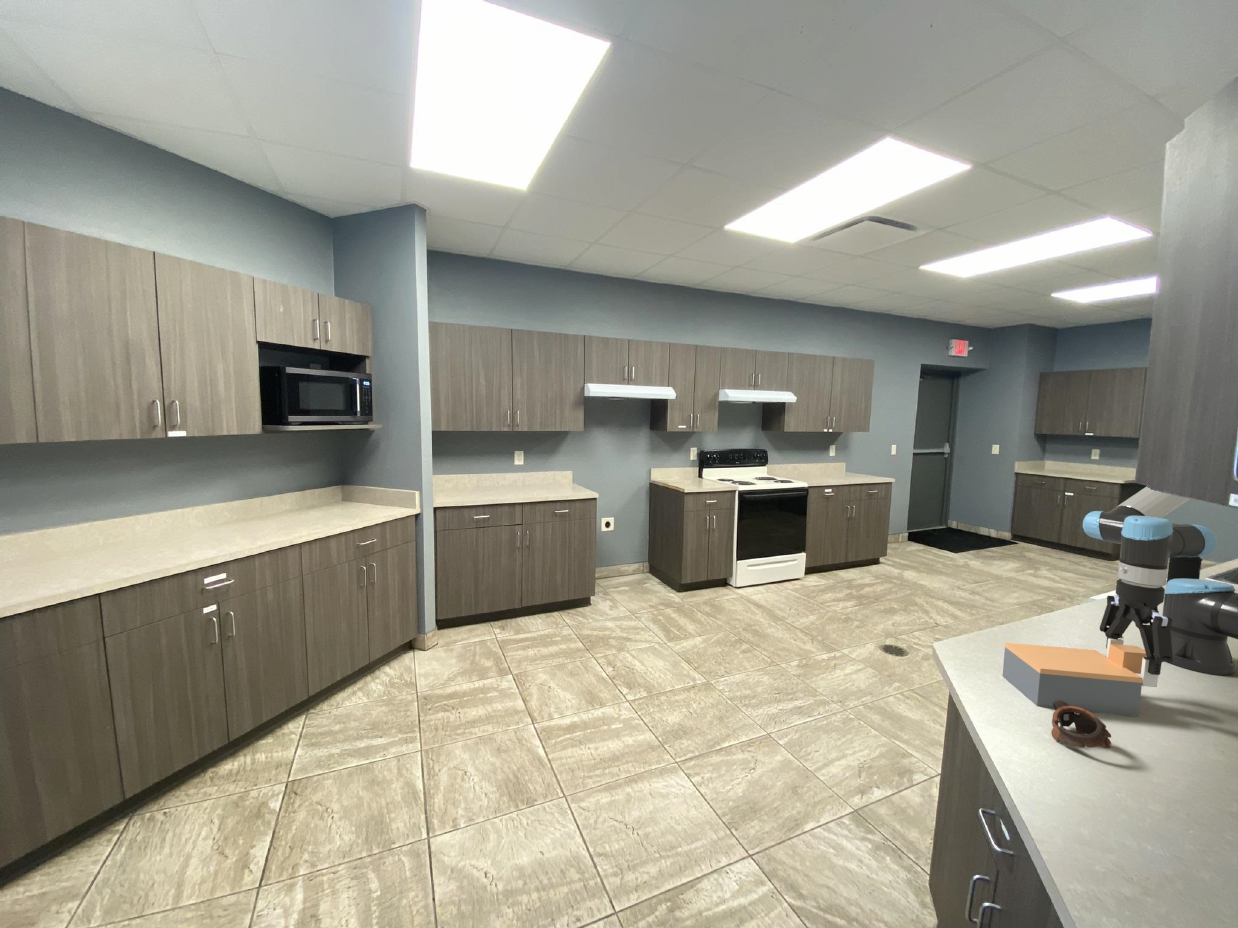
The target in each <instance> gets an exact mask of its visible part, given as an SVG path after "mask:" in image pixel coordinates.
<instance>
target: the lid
mask: <svg viewBox="0 0 1238 928" xmlns="http://www.w3.org/2000/svg"><path fill="white" fill-rule="evenodd" d="M1005 647H1006V648H1007V649H1008V650H1010V651H1011V652H1012V653H1014V654H1015V655H1016V656H1018V657H1019V658H1020V659H1022V660H1023V661H1024V662H1026V663H1027V664H1028V665H1030V666H1031V667H1032V668H1034V669H1035V670H1036V671H1038V672H1039V673H1041V674H1051V675H1062V676H1073V677H1083V678H1094V679H1105V680H1116V681H1126V682H1137V683H1142V679H1143V678H1142V677H1141V668H1142V660H1143V657H1147V656H1146V652H1145V649H1143V648H1141V647H1139V646H1137V645H1132V644H1131V645H1129V644H1123V645H1118V644H1110V646H1109V655H1108V657H1106V655H1105V654H1103V653H1101V652H1100V651H1098V650H1096V649H1086V648H1078V647H1077V648H1074V647H1063V646H1061V647H1060V646H1051V645H1050V646H1049V645H1042V644H1041V645H1039V644H1038V645H1037V644H1027V643H1017V642H1016V643H1015V642H1005V643H1004V648H1005Z"/></svg>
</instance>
